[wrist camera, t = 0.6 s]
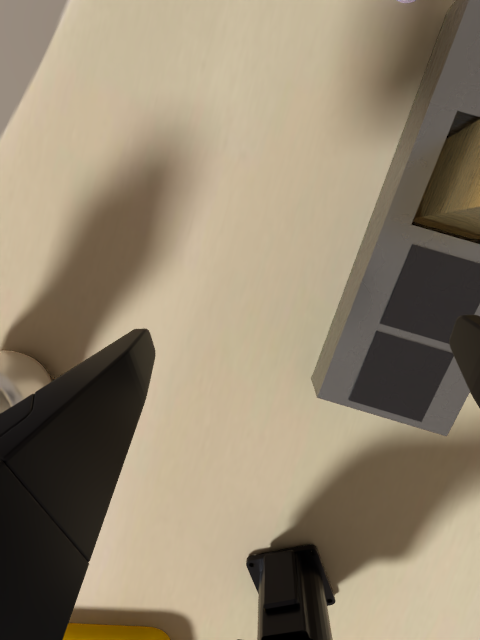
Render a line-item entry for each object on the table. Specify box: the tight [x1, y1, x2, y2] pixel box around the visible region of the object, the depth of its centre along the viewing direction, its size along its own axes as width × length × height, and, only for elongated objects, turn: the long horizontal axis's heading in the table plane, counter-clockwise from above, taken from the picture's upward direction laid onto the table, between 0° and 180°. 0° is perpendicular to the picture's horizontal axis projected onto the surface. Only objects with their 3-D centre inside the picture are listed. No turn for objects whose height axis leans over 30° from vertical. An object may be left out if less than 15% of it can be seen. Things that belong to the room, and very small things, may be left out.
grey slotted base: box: [311, 0, 480, 436], centre depth 19 cm, size 24×9×3 cm, turn 164°
